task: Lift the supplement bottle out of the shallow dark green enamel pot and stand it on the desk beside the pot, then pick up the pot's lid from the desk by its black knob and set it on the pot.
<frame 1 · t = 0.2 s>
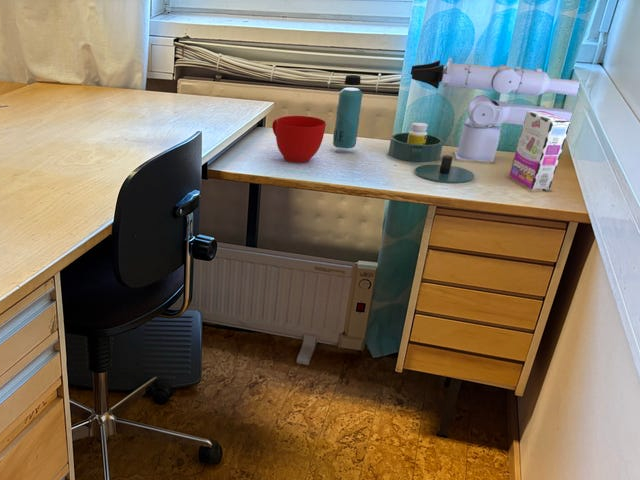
hand: (411, 72, 186), 21 cm above the table, tool horizontal, fingers open, 7 cm apart
beverage bottle: (342, 151, 198), on the table
ceramic cup: (291, 158, 192), on the table
pot: (413, 157, 193), on the table
lid: (443, 174, 178), point 1 cm above the table
supplement bottle: (413, 156, 193), resting on pot
candy bar box: (528, 184, 174), on the table
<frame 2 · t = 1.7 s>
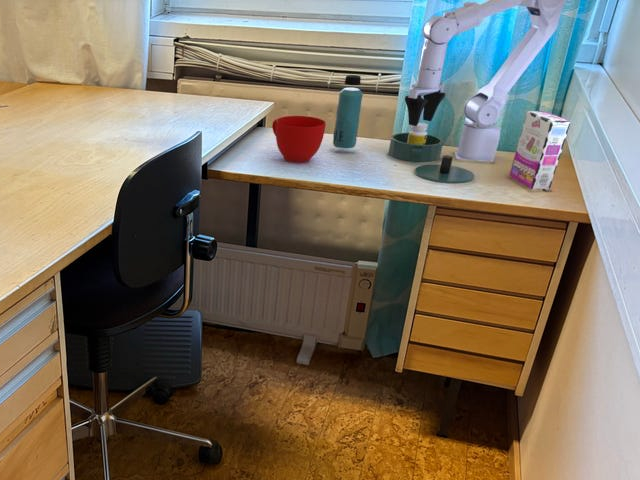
hand: (420, 122, 188), 9 cm above the table, tool pointing down, fingers open, 7 cm apart
nothing on the table moved.
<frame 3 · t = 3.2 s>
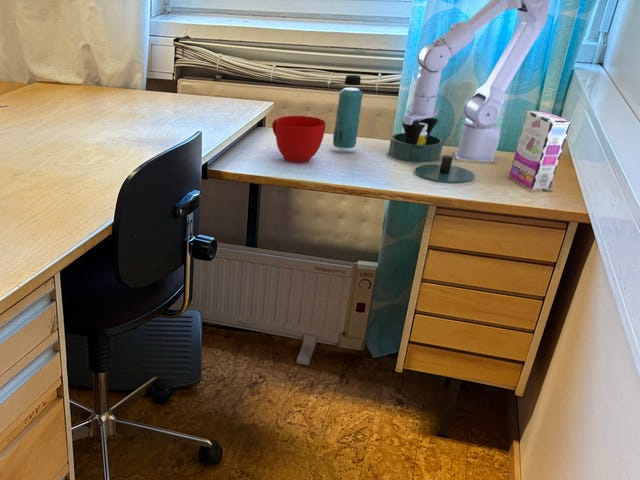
hand: (415, 147, 191), 3 cm above the table, tool pointing down, fingers closed on supplement bottle, 5 cm apart
supplement bottle: (413, 156, 193), resting on pot, touching gripper
everything else where it was.
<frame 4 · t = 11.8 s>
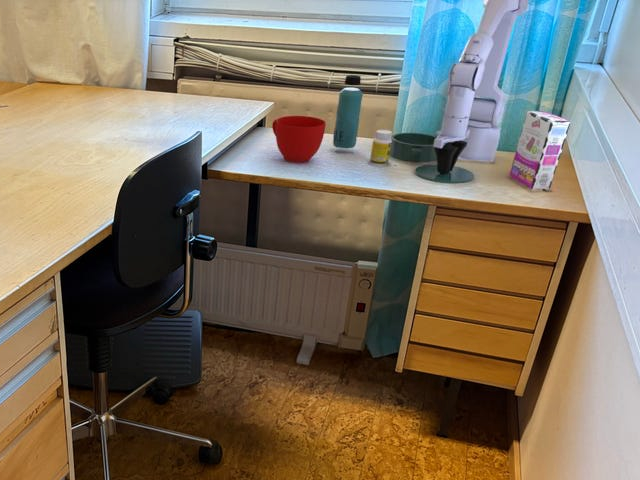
hand: (444, 171, 177), 1 cm above the table, tool pointing down, fingers closed on lid, 2 cm apart
lid: (443, 174, 178), point 1 cm above the table, touching gripper
supplement bottle: (378, 164, 188), on the table
everything else where it was.
when the fingers open (6 cm above the table, at t = 15.7 s): lid stays where it is, resting on pot.
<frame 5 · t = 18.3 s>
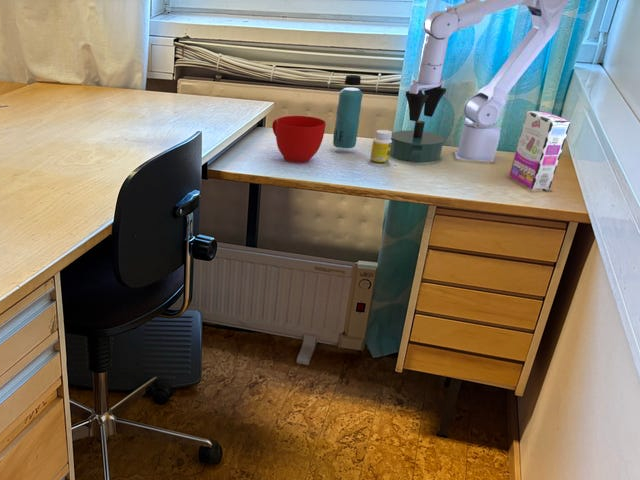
hand: (420, 118, 187), 10 cm above the table, tool pointing down, fingers open, 7 cm apart
lid: (416, 138, 190), point 5 cm above the table, touching pot
everything else where it was.
at the end: supplement bottle 0.1 cm from the target spot, on the table; lid 0.1 cm off-centre on the pot, point 5.0 cm above the pot's base; lid tilted 0° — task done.
